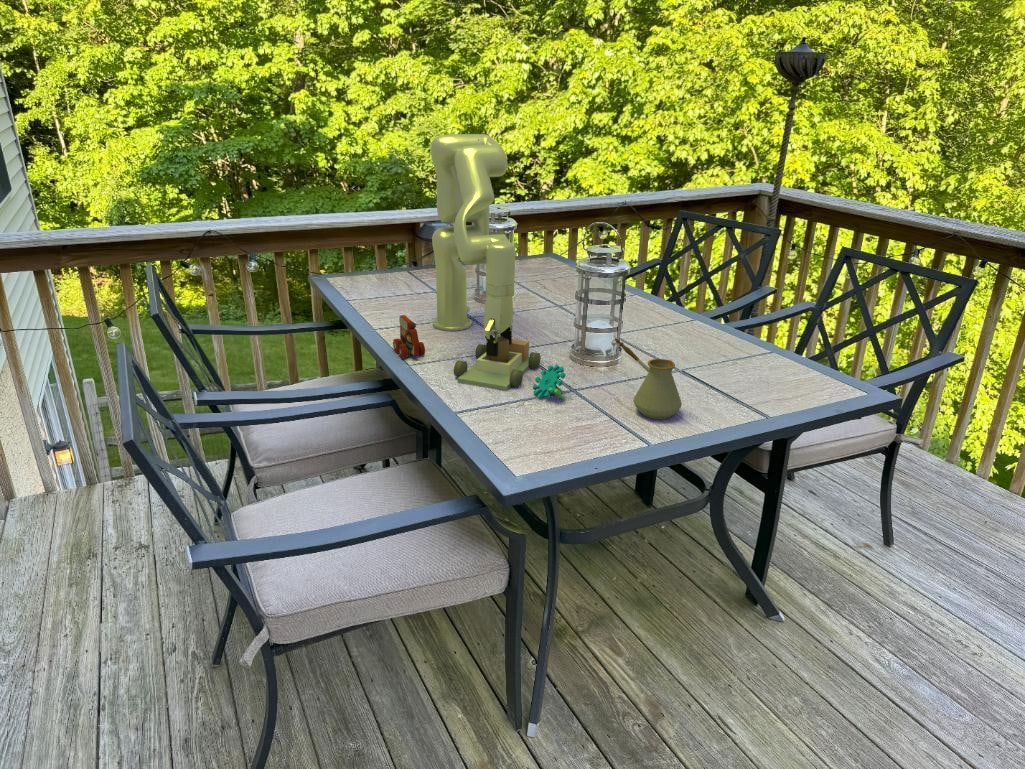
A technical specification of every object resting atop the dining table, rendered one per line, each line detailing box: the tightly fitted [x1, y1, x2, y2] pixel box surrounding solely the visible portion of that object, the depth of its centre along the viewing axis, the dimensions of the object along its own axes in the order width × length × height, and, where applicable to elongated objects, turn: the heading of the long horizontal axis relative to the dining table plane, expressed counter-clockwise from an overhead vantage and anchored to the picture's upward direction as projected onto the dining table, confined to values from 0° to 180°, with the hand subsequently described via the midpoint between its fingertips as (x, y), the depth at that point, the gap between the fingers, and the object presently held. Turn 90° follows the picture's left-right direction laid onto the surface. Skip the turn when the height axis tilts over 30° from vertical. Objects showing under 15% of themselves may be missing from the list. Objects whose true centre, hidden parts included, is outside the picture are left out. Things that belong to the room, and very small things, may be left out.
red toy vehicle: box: [392, 314, 426, 359], centre depth 211 cm, size 7×12×10 cm, turn 26°
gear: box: [532, 363, 566, 402], centre depth 186 cm, size 11×6×10 cm
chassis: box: [453, 338, 542, 392], centre depth 200 cm, size 22×18×6 cm
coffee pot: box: [611, 337, 683, 420], centre depth 179 cm, size 21×12×15 cm, turn 39°
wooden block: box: [490, 336, 509, 363], centre depth 200 cm, size 4×4×8 cm
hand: (499, 349), depth 200 cm, fingers open, 9 cm apart
